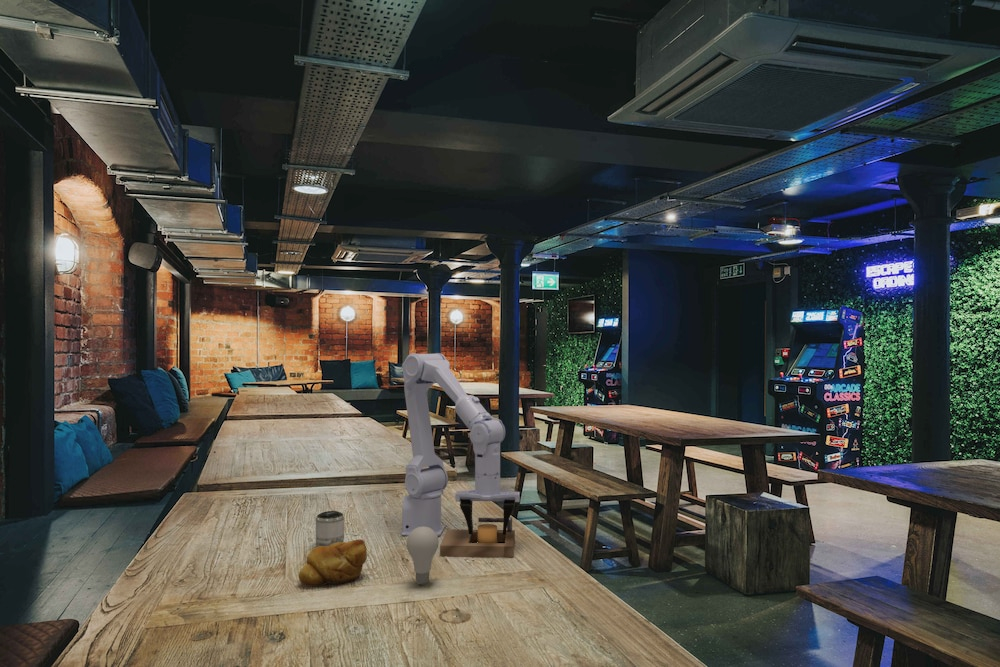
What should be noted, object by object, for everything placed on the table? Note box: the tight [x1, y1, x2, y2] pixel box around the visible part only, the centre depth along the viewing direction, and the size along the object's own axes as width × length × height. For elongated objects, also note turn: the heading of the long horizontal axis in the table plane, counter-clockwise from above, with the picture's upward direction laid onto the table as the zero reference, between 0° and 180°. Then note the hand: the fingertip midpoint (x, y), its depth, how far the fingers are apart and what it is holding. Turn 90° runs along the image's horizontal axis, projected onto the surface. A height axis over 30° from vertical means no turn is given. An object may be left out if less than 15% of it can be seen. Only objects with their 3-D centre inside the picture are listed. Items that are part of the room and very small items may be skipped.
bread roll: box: [298, 539, 368, 587], centre depth 122 cm, size 13×10×8 cm
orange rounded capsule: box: [477, 523, 498, 543], centre depth 140 cm, size 4×4×5 cm
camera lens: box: [315, 510, 345, 547], centre depth 141 cm, size 6×6×8 cm
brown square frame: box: [439, 528, 516, 559], centre depth 140 cm, size 16×12×2 cm
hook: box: [477, 516, 513, 532], centre depth 145 cm, size 8×1×6 cm, turn 87°
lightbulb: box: [406, 526, 439, 586], centre depth 119 cm, size 6×6×11 cm
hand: (487, 533), depth 140 cm, fingers open, 7 cm apart
